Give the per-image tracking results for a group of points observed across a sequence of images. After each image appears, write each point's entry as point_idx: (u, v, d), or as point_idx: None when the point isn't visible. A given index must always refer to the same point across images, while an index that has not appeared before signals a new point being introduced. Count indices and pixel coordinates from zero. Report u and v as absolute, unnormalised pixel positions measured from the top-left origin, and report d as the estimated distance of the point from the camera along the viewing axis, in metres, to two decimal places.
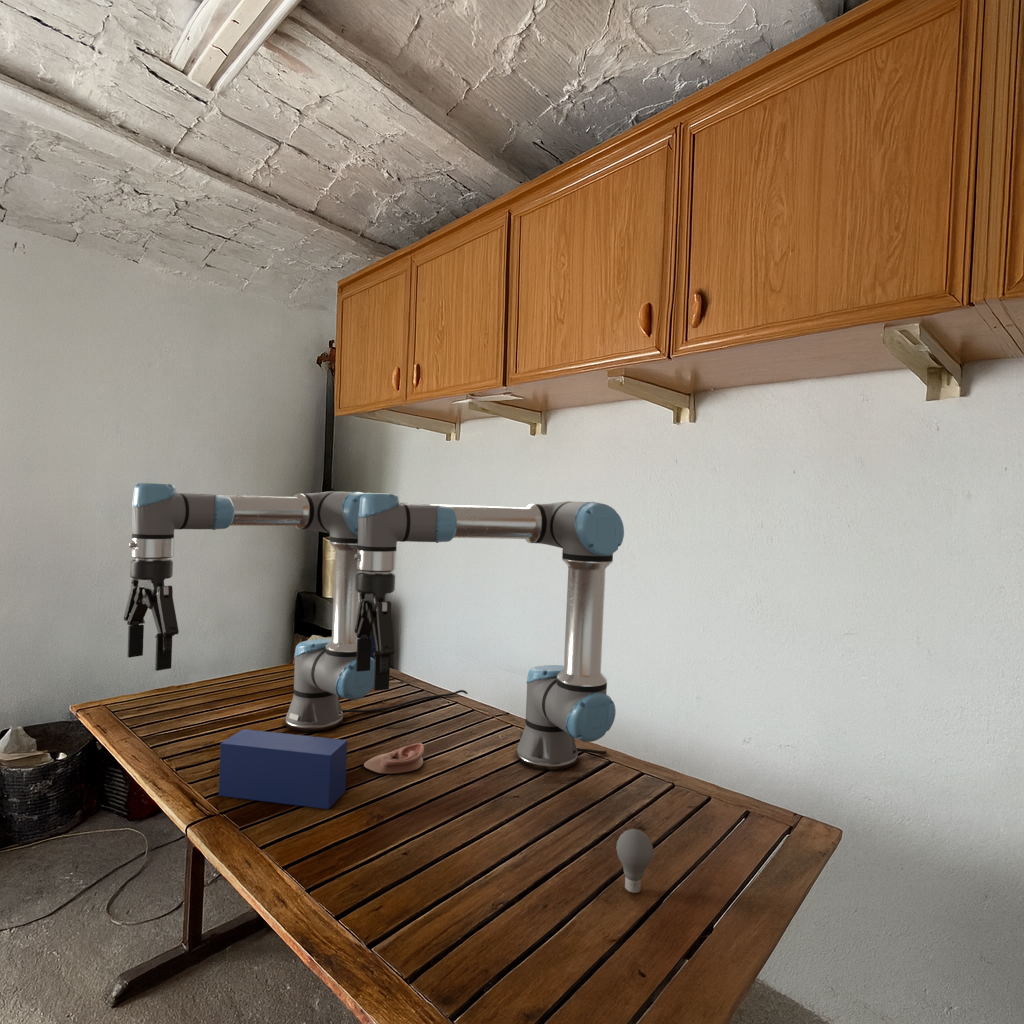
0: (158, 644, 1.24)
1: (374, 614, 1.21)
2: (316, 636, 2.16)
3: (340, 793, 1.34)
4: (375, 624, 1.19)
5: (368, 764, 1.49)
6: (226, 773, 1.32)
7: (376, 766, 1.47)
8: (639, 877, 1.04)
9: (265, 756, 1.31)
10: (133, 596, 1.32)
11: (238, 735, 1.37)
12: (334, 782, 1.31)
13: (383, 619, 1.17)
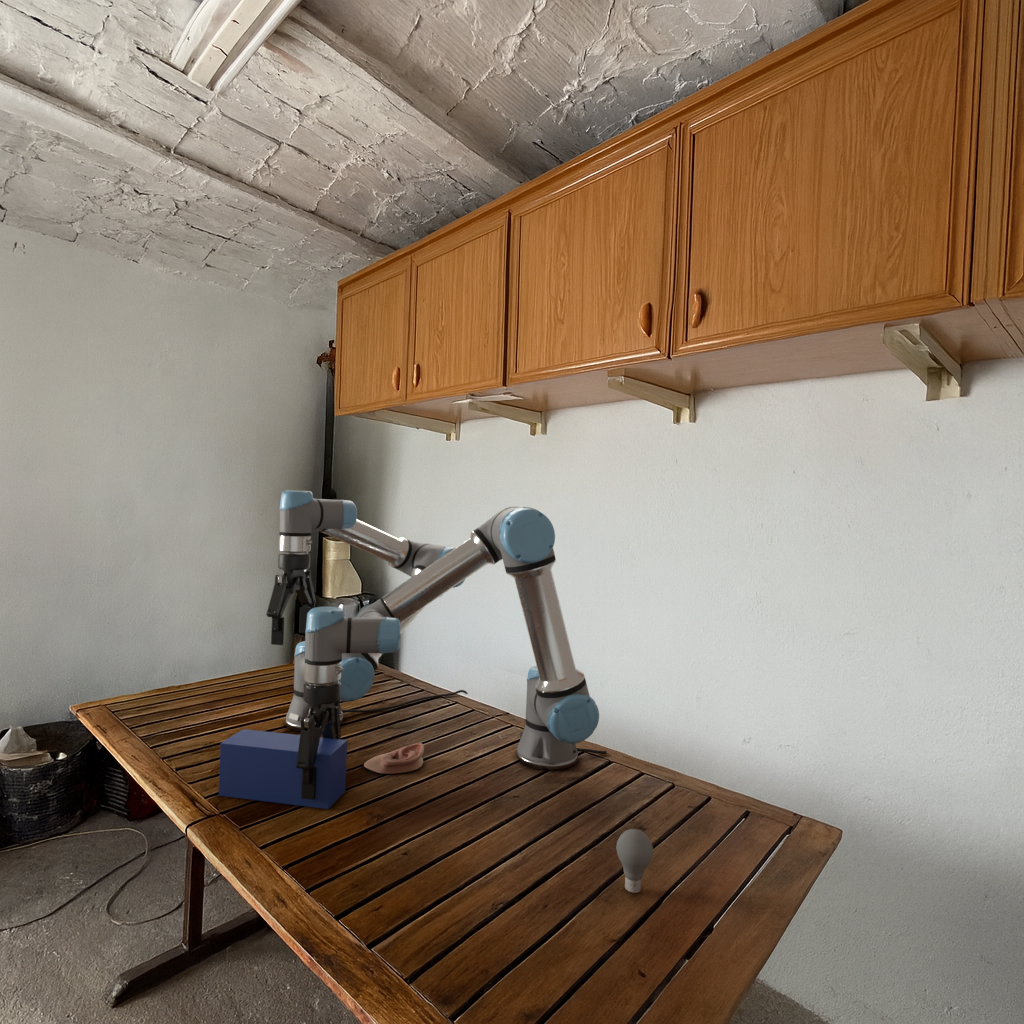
0: None
1: None
2: None
3: (340, 793, 1.34)
4: None
5: (368, 764, 1.49)
6: (226, 773, 1.32)
7: (376, 766, 1.47)
8: (639, 877, 1.04)
9: (265, 756, 1.31)
10: None
11: (238, 735, 1.37)
12: (334, 782, 1.31)
13: None
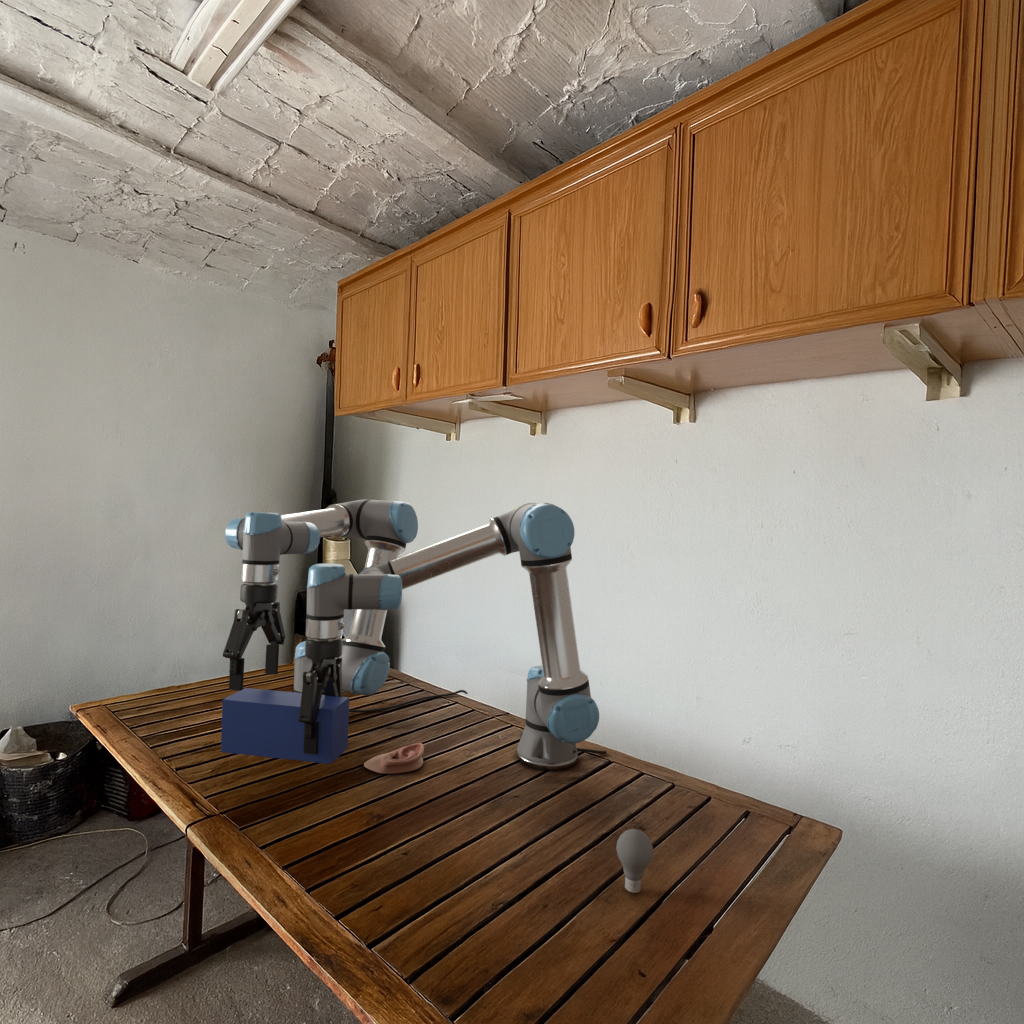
0: None
1: None
2: None
3: (342, 750, 1.34)
4: None
5: (368, 764, 1.49)
6: (228, 729, 1.32)
7: (376, 766, 1.47)
8: (639, 877, 1.04)
9: (267, 711, 1.30)
10: None
11: (240, 693, 1.37)
12: (336, 737, 1.31)
13: None
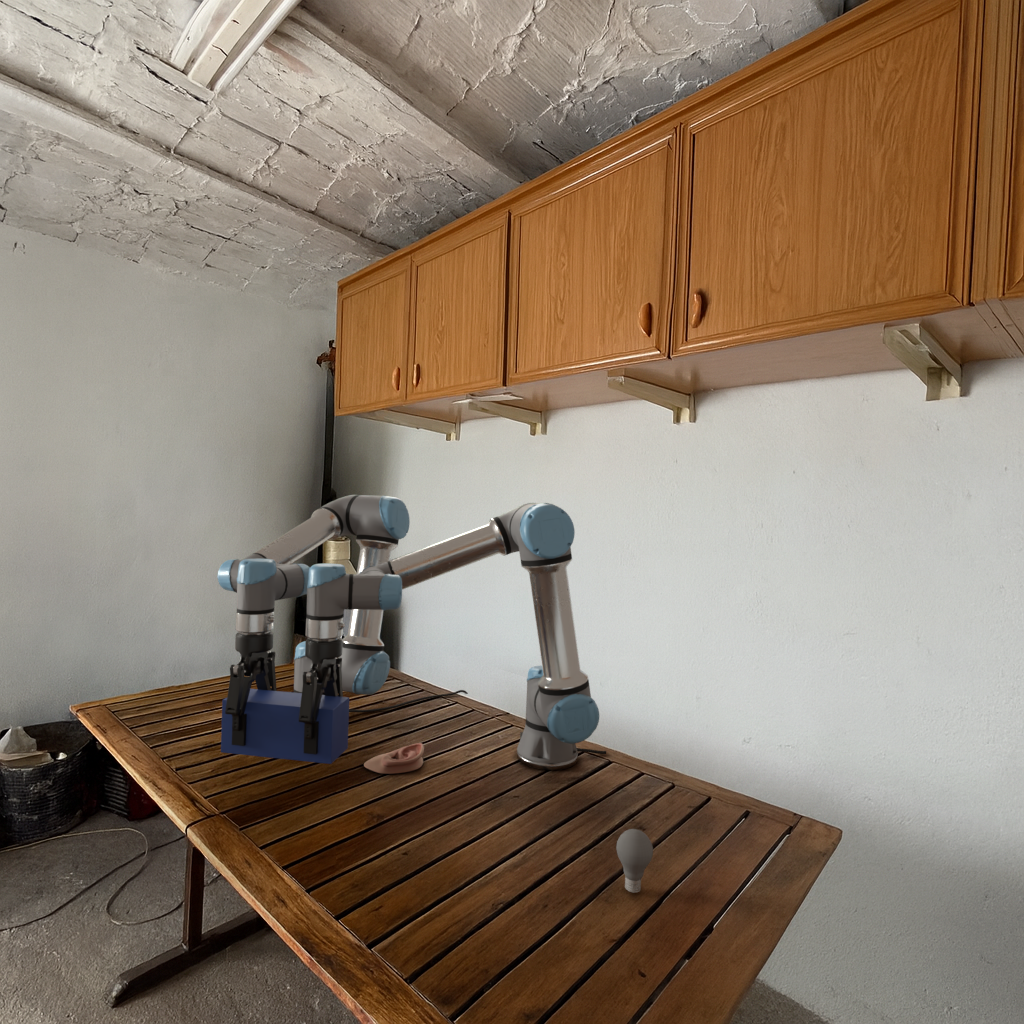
0: None
1: None
2: None
3: (342, 750, 1.34)
4: None
5: (368, 764, 1.49)
6: (228, 729, 1.32)
7: (376, 766, 1.47)
8: (639, 877, 1.04)
9: (267, 712, 1.30)
10: None
11: None
12: (336, 737, 1.31)
13: None
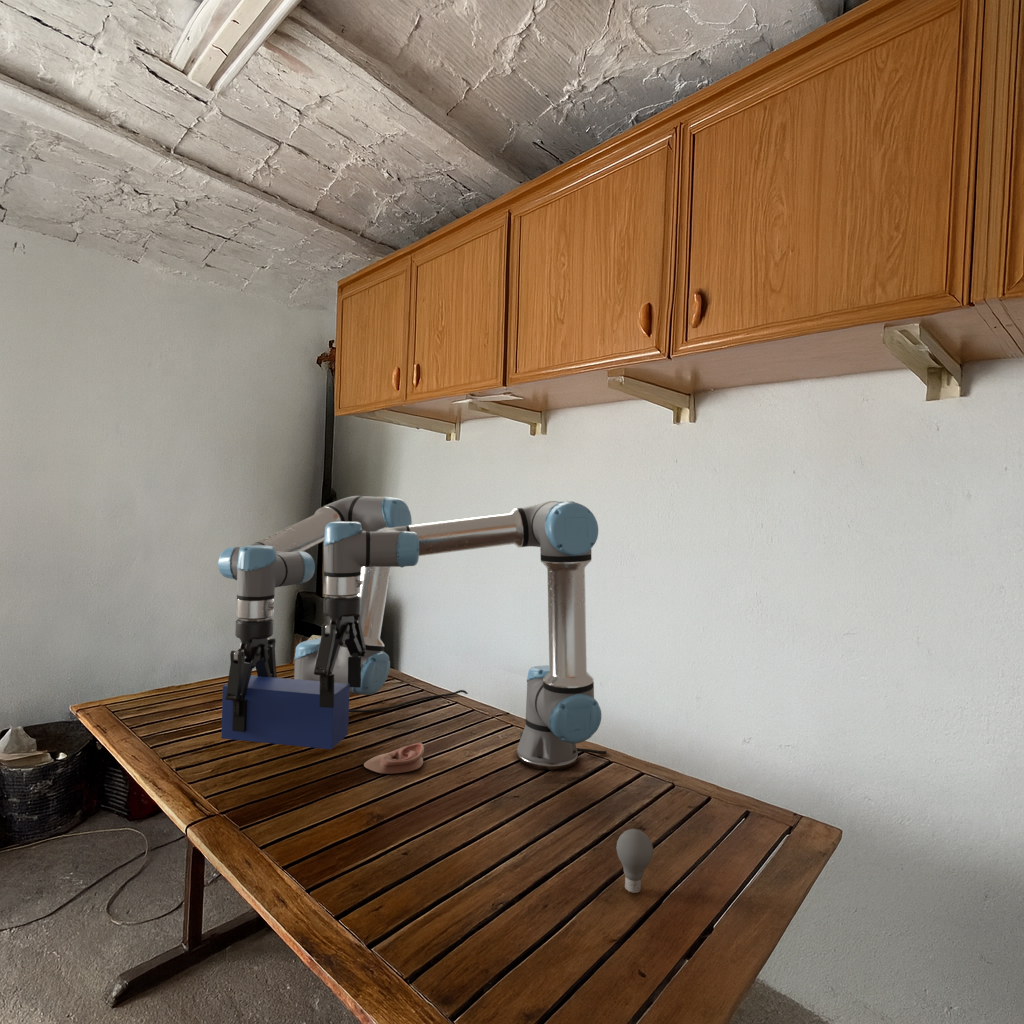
0: None
1: None
2: (316, 636, 2.16)
3: (343, 736, 1.34)
4: None
5: (368, 764, 1.49)
6: (229, 716, 1.32)
7: (376, 766, 1.47)
8: (639, 877, 1.04)
9: (267, 697, 1.31)
10: None
11: None
12: (337, 723, 1.31)
13: None
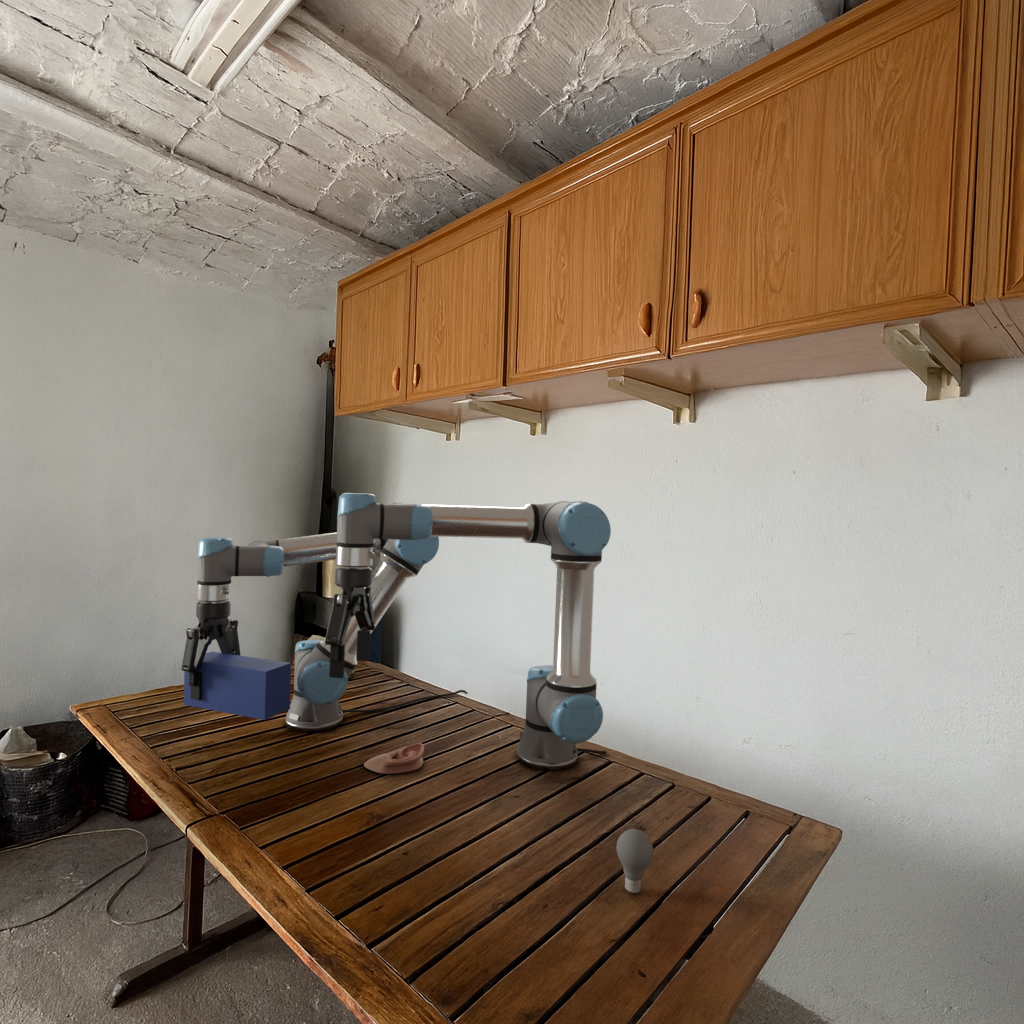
0: None
1: None
2: (316, 636, 2.16)
3: (282, 709, 1.49)
4: None
5: (368, 764, 1.49)
6: None
7: (376, 766, 1.47)
8: (639, 877, 1.04)
9: (217, 671, 1.48)
10: None
11: None
12: (272, 697, 1.45)
13: None
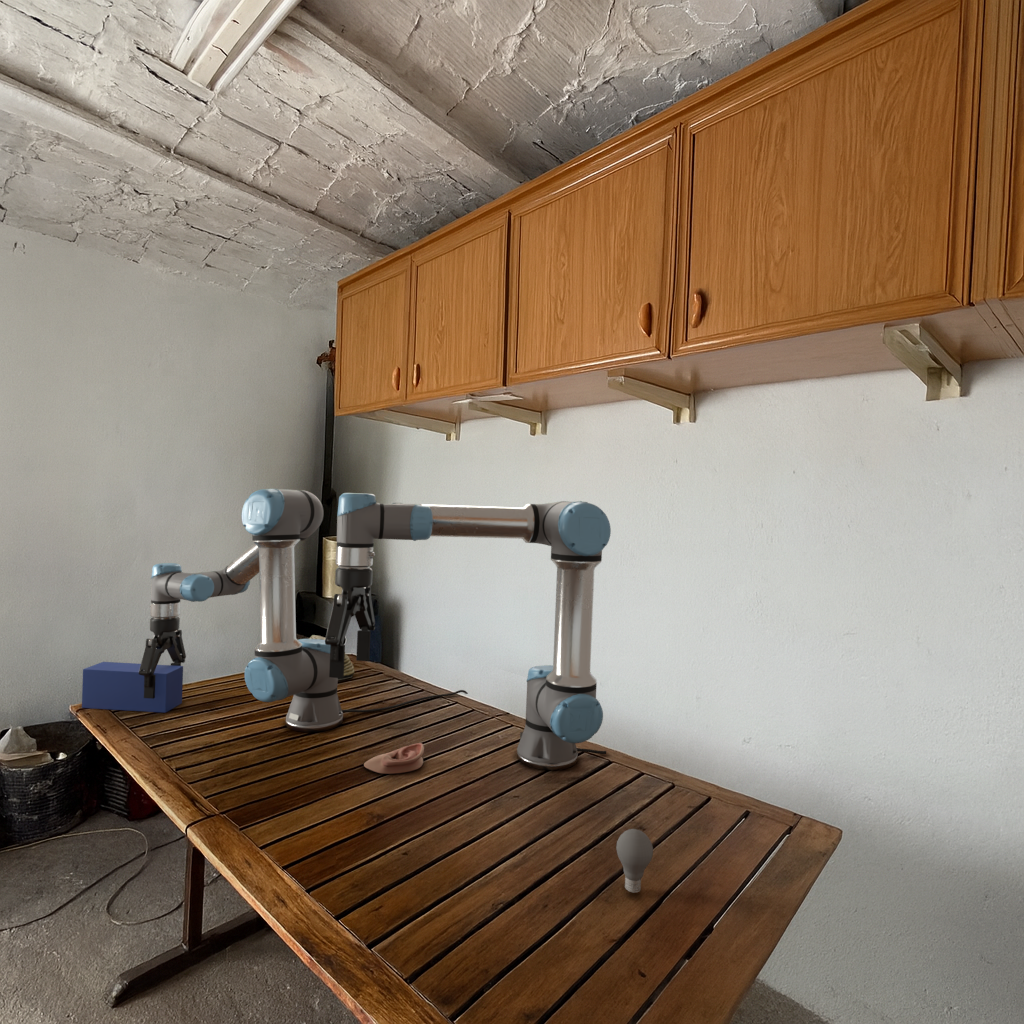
0: None
1: None
2: (316, 636, 2.16)
3: None
4: None
5: (368, 764, 1.49)
6: None
7: (376, 766, 1.47)
8: (639, 877, 1.04)
9: None
10: None
11: (170, 670, 1.83)
12: None
13: None
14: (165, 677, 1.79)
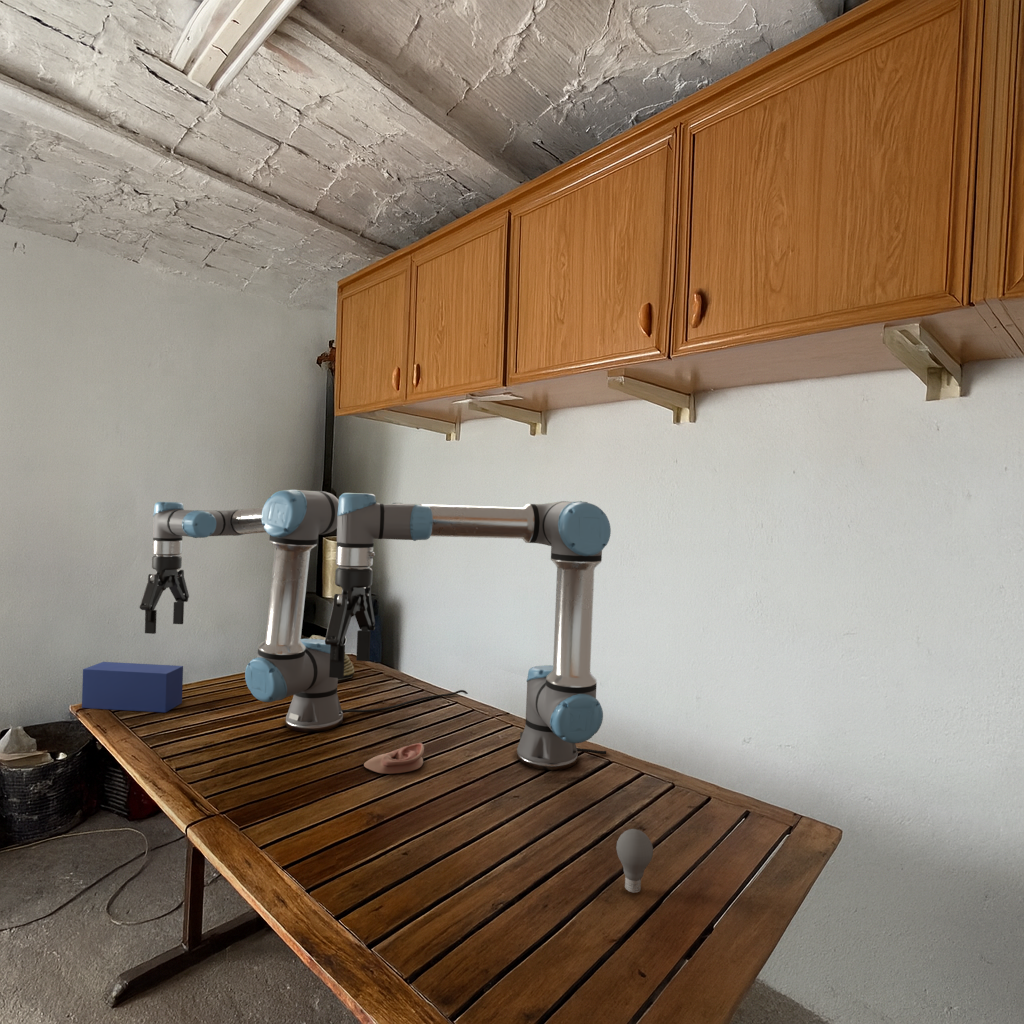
0: None
1: None
2: (316, 636, 2.16)
3: None
4: None
5: (368, 764, 1.49)
6: None
7: (376, 766, 1.47)
8: (639, 877, 1.04)
9: None
10: None
11: (170, 670, 1.83)
12: None
13: None
14: (165, 677, 1.79)
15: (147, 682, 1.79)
